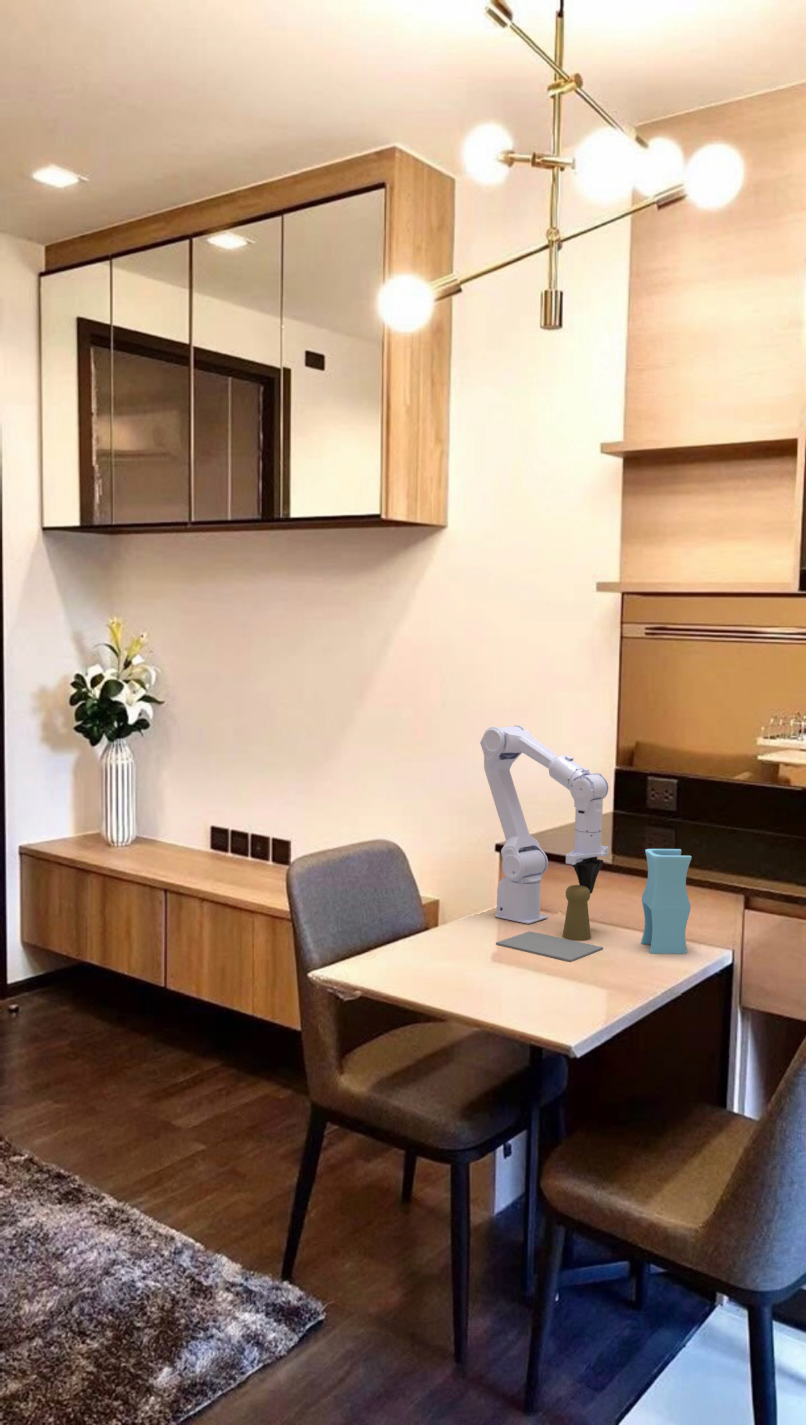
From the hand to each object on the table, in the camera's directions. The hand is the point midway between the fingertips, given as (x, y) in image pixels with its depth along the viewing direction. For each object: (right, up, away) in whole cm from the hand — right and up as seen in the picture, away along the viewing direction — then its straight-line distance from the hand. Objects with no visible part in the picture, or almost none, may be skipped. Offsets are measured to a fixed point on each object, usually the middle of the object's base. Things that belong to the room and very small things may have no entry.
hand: (586, 892), depth 235 cm
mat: (-9, -9, -10) cm, 17 cm away
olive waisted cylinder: (-2, -9, -2) cm, 10 cm away
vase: (+14, -10, -10) cm, 20 cm away
